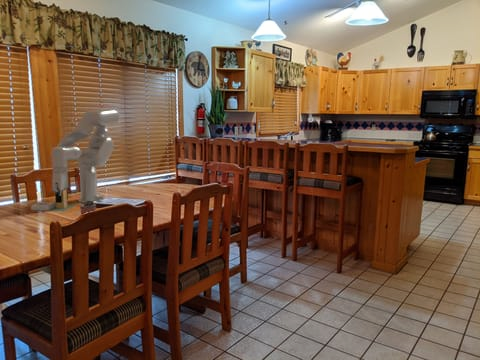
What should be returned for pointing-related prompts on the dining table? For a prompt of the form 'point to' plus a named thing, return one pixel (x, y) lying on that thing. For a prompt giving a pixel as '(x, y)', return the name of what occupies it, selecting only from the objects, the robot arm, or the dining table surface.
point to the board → (48, 206)
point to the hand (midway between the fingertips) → (61, 200)
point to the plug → (63, 199)
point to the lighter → (87, 206)
